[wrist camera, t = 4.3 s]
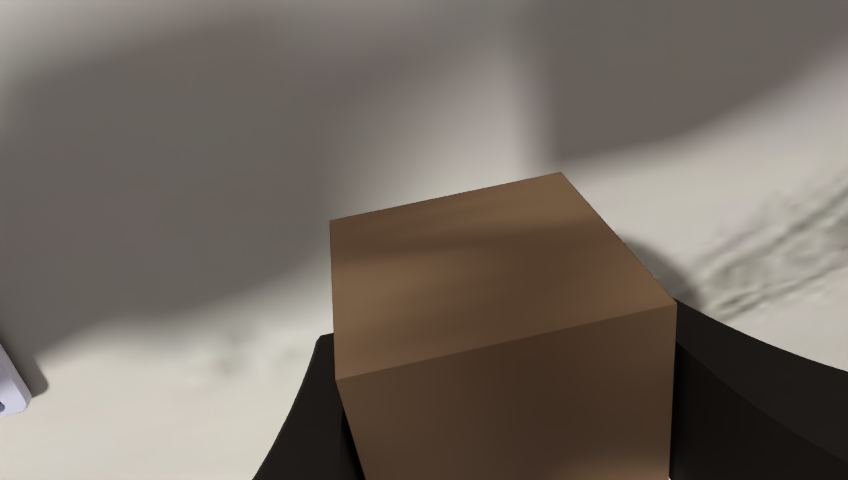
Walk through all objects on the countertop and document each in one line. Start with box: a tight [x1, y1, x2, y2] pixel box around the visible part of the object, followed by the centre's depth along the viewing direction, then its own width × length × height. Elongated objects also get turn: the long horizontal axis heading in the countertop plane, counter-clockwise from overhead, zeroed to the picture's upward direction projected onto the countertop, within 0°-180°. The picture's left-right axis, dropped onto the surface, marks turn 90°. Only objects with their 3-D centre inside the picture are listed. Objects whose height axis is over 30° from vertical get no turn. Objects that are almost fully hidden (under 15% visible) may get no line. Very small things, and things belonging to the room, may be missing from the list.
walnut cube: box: [330, 172, 677, 480], centre depth 12 cm, size 5×5×5 cm
